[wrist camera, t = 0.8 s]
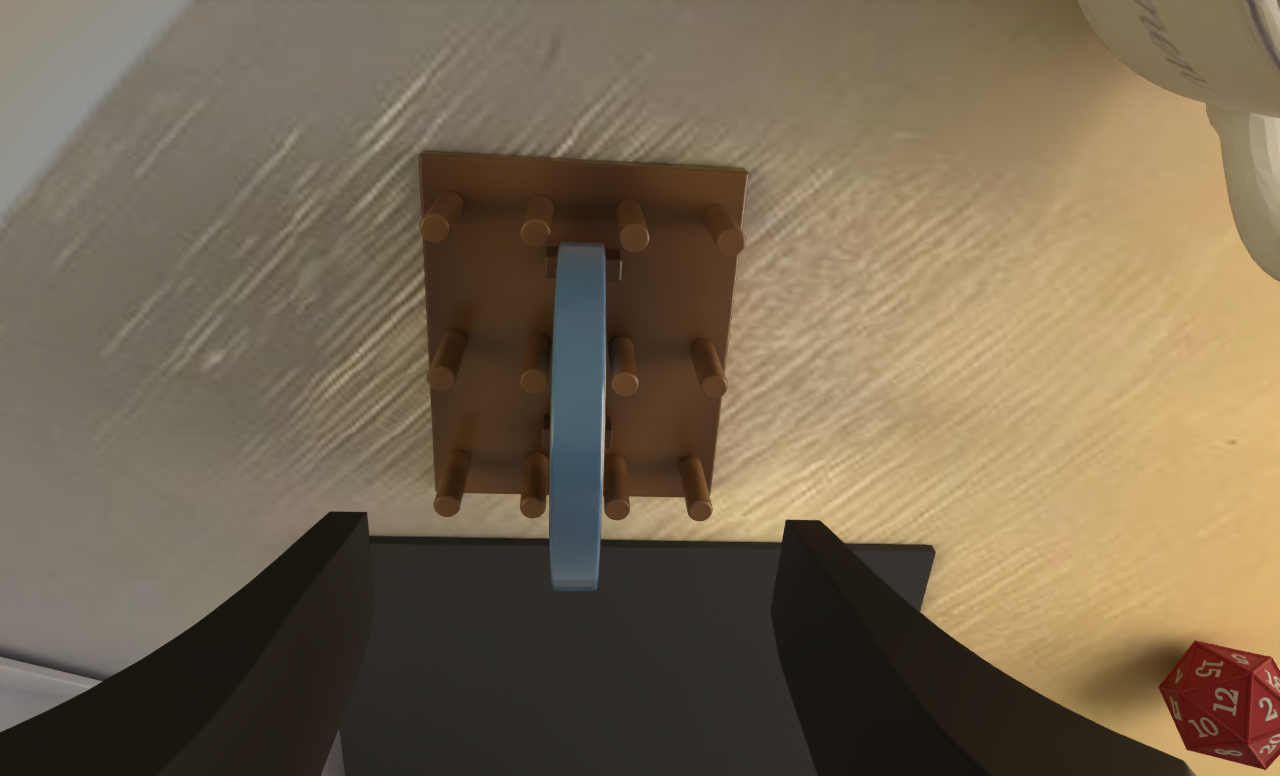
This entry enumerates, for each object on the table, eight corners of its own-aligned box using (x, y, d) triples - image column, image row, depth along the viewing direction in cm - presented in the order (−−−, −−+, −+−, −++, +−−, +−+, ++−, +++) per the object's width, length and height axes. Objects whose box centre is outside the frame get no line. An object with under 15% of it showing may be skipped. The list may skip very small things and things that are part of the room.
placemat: (356, 832, 32) (353, 841, 32) (318, 535, 26) (315, 542, 25) (857, 824, 34) (860, 833, 33) (931, 544, 28) (936, 552, 27)
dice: (1210, 708, 32) (1289, 799, 28) (1113, 686, 31) (1183, 777, 27) (1270, 636, 30) (1362, 723, 27) (1171, 611, 30) (1253, 697, 26)
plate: (559, 469, 24) (546, 672, 17) (561, 202, 21) (546, 317, 14) (596, 470, 25) (598, 671, 17) (605, 203, 21) (612, 318, 14)
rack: (438, 482, 25) (420, 543, 23) (422, 150, 21) (397, 174, 18) (707, 488, 26) (722, 547, 23) (745, 168, 22) (769, 193, 19)
